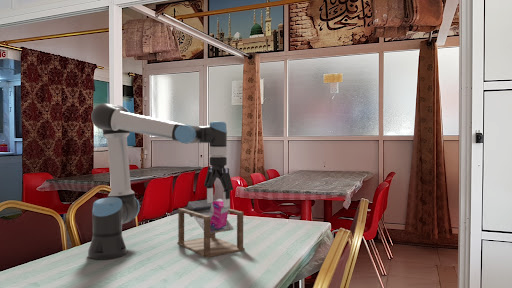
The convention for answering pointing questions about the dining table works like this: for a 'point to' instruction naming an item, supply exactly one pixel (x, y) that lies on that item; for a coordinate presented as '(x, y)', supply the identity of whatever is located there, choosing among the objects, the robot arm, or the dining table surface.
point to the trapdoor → (205, 209)
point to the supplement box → (218, 214)
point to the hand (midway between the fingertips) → (218, 204)
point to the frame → (210, 236)
